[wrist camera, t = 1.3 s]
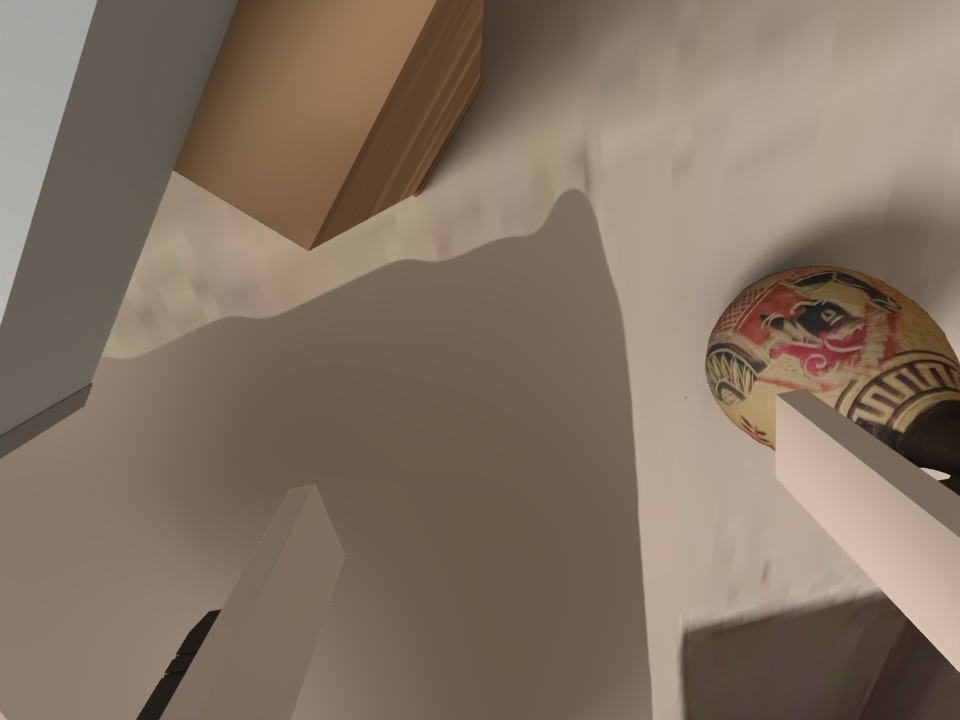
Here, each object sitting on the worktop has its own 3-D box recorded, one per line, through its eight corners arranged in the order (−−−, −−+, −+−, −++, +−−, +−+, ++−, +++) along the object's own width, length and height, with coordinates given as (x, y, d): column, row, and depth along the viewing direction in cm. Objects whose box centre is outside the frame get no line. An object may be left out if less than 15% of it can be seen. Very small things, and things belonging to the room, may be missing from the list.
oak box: (275, 101, 40) (-178, -32, 12) (333, -30, 37) (-107, -615, 9) (418, 195, 43) (311, 260, 15) (483, 81, 40) (499, -105, 12)
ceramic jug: (795, 214, 44) (1350, 307, 16) (866, 340, 48) (1393, 583, 21) (633, 330, 48) (853, 566, 20) (712, 436, 52) (981, 749, 24)
